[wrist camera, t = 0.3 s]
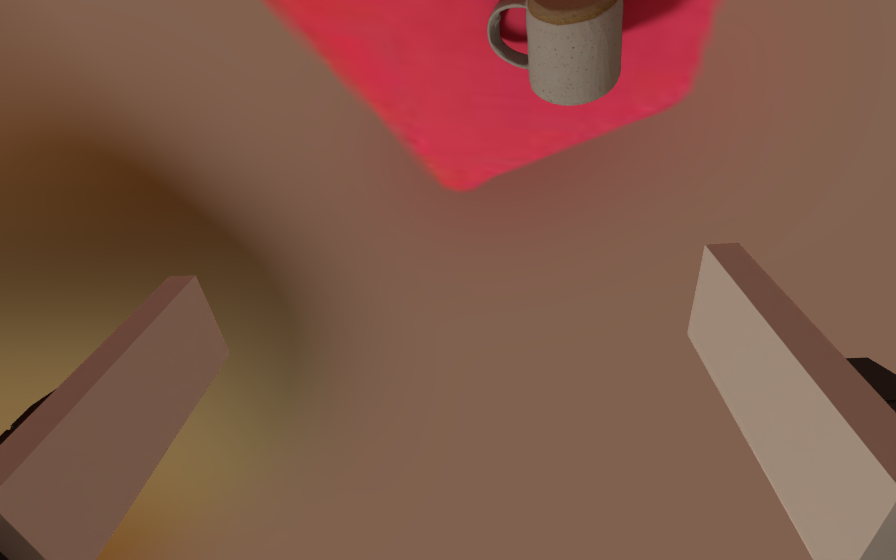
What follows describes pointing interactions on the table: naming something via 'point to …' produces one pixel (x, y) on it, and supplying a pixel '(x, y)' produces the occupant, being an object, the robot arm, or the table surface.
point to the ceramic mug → (566, 47)
